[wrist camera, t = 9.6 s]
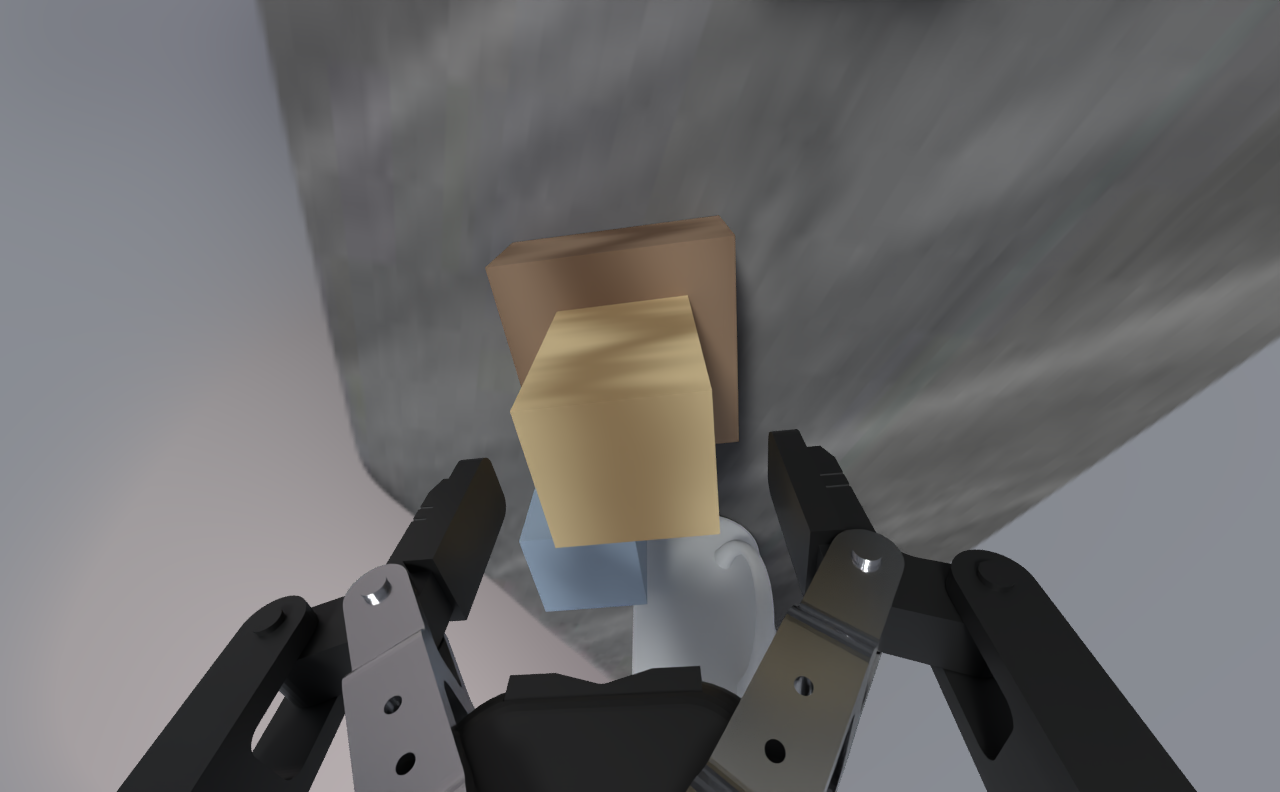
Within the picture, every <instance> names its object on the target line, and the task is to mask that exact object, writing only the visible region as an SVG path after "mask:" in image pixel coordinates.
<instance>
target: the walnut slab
mask: <svg viewBox="0 0 1280 792" xmlns="http://www.w3.org/2000/svg"><path fill="white" fill-rule="evenodd" d="M485 269H486V272H487V275H488V279H489V282H490V285H491V288H492V292H493V295H494V298H495V302H496V305H497V308H498V312H499V315H500V318H501V321H502V325H503V328H504V331H505V335H506V338H507V341H508V345H509V348H510V351H511V354H512V358H513V361H514V364H515V368H516V371H517V374H518V378H519V381H520V384H521V387H522V385H523V383H524V381H525V379H526V377H527V375H528V372H529V370H530V368H531V366H532V364H533V362H534V360H535V357H536V355H537V353H538V351H539V349H540V347H541V344H542V342H543V340H544V338H545V336H546V334H547V332H548V329H549V327H550V325H551V323H552V321H553V319H554V317H555V314H556V312H558V311H566V310H574V309H582V308H590V307H598V306H606V305H614V304H622V303H630V302H638V301H646V300H654V299H662V298H670V297H678V296H686V295H688V298H689V302H690V306H691V310H692V314H693V318H694V322H695V325H696V329H697V333H698V337H699V341H700V345H701V349H702V353H703V357H704V361H705V365H706V369H707V373H708V376H709V380H710V384H711V388H712V400H713V418H714V435H715V444H720V443H730V442H739V422H738V369H737V315H736V261H735V235H734V233H733V232H732V231H731V230H730V229H729V227H728V226H727V225H726V224H725V222H724V221H723V220H722V219H721V218H720V216H719V215H718V216H711V217H703V218H696V219H688V220H681V221H673V222H665V223H658V224H650V225H643V226H635V227H628V228H620V229H613V230H605V231H598V232H590V233H583V234H575V235H567V236H560V237H552V238H545V239H537V240H530V241H522V242H515V243H512V244H511V245H510V246H509V247H507V248H506V249H505V250H504V251H503V252H502V253H501V254H500V255H499V256H497V257H496V258H495V259H494V260H493V261H492V262H491V263H490V264H489V265H487V266H486V267H485Z"/></svg>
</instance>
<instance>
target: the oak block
mask: <svg viewBox="0 0 1280 792" xmlns="http://www.w3.org/2000/svg"><path fill="white" fill-rule="evenodd" d="M510 413H511V416H512V419H513V422H514V425H515V428H516V431H517V434H518V437H519V440H520V443H521V446H522V449H523V452H524V455H525V458H526V461H527V464H528V467H529V470H530V473H531V476H532V479H533V482H534V485H535V488H536V491H537V494H538V497H539V500H540V503H541V506H542V509H543V512H544V515H545V518H546V521H547V524H548V527H549V530H550V533H551V536H552V539H553V542H554V545H555V548H562V547H574V546H586V545H597V544H609V543H621V542H633V541H645V540H656V539H668V538H680V537H692V536H703V535H715V534H720V521H719V504H718V487H717V470H716V452H715V435H714V418H713V400H712V388H711V384H710V380H709V376H708V373H707V369H706V365H705V361H704V357H703V353H702V349H701V345H700V341H699V337H698V333H697V329H696V325H695V322H694V318H693V314H692V310H691V306H690V302H689V298H688V295H686V296H678V297H670V298H662V299H654V300H646V301H638V302H630V303H622V304H614V305H606V306H598V307H590V308H582V309H574V310H566V311H558V312H556V314H555V317H554V319H553V321H552V323H551V325H550V327H549V329H548V332H547V334H546V336H545V338H544V340H543V342H542V344H541V347H540V349H539V351H538V353H537V355H536V357H535V360H534V362H533V364H532V366H531V368H530V370H529V372H528V375H527V377H526V379H525V381H524V383H523V385H522V387H521V390H520V392H519V394H518V396H517V398H516V400H515V402H514V405H513V407H512V409H511V411H510Z"/></svg>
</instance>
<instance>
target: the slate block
mask: <svg viewBox="0 0 1280 792" xmlns="http://www.w3.org/2000/svg"><path fill="white" fill-rule="evenodd" d="M519 542H520V545H521V548H522V550H523V553H524V555H525V558H526V561H527V563H528V566H529V569H530V571H531V574H532V576H533V579H534V582H535V584H536V587H537V589H538V592H539V595H540V597H541V600H542V603H543V605H544V608H545V610H546V612H547V611H561V610H575V609H589V608H603V607H617V606H631V605H645V604H647V540H645V541H633V542H621V543H609V544H597V545H586V546H574V547H562V548H555V545H554V542H553V539H552V536H551V533H550V530H549V527H548V524H547V521H546V518H545V515H544V512H543V509H542V506H541V503H540V500H539V497H538V494H537V491H536V488H535V490H534V494H533V497H532V500H531V504H530V507H529V510H528V514H527V517H526V520H525V524H524V527H523V530H522V534H521V537H520V540H519Z"/></svg>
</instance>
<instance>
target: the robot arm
mask: <svg viewBox="0 0 1280 792" xmlns="http://www.w3.org/2000/svg"><path fill="white" fill-rule="evenodd" d="M768 483H769V489H770V494H771V498H772V501H773V504H774V507H775V510H776V513H777V516H778V520H779V523H780V526H781V529H782V532H783V535H784V538H785V541H786V544H787V548H788V551H789V554H790V557H791V560H792V563H793V566H794V569H795V573H796V576H797V579H798V582H799V585H800V588H801V591H802V594H803V599H802V601H801V603H800V605H799V606H798V607H796V606H792V607H791V608H790V609H789V611H788V612H787V614H786V616H785V617H784V619H783V621H782V623H781V625H780V627H779V629H778V631H777V632H776V634H775V636H774V638H773V640H772V642H771V644H770V646H769V648H768V649H767V651H766V653H765V655H764V657H763V659H762V661H761V663H760V665H759V666H758V668H757V670H756V672H755V674H754V676H753V678H752V680H751V682H750V683H749V685H748V687H747V689H746V691H745V693H744V695H743V697H742V698H740V697H739V696H737V695H736V694H734V693H732V692H730V691H729V690H727V689H725V688H722V687H720V686H717V685H715V684H712V683H708V682H704V681H702V677H701V668H700V666H686V667H666V668H651V669H648V670H645V671H642V672H639V673H636V674H633V675H630V676H627V677H624V678H621V679H618V680H615V681H612V682H609V683H605V684H597V683H593V682H589V681H585V680H581V679H577V678H573V677H569V676H565V675H561V674H556V673H549V674H530V675H511V676H510V678H509V682H508V686H507V690H506V693H503V694H500V695H498V696H496V697H494V698H492V699H490V700H488V701H486V702H485V703H483V704H481V705H480V706H478V707H477V708H476V709H475V708H474V706H473V704H472V702H471V700H470V697H469V695H468V692H467V690H466V687H465V685H464V681H463V679H462V676H461V674H460V671H459V668H458V665H457V662H456V660H455V657H454V654H453V651H452V649H451V646H450V643H449V640H448V638H447V636H446V634H445V630H446V627H447V625H448V623H449V621H461V620H467V617H468V615H469V612H470V609H471V607H472V604H473V601H474V599H475V596H476V593H477V591H478V588H479V585H480V582H481V580H482V577H483V574H484V572H485V569H486V566H487V563H488V561H489V558H490V555H491V553H492V550H493V547H494V545H495V542H496V539H497V536H498V534H499V531H500V528H501V526H502V523H503V520H504V517H505V512H506V502H505V497H504V494H503V491H502V489H501V486H500V484H499V481H498V479H497V476H496V474H495V471H494V468H493V466H492V463H491V461H490V460H489V459H488V458H478V459H467V460H461V461H459V462H458V464H457V465H456V467H455V469H454V470H453V472H452V474H451V476H450V478H449V479H443V480H442V481H441V482H440V483H439V484H438V485H437V486H435V487H434V488H433V489H432V490H431V491H430V492H429V493H428V495H427V497H426V498H425V500H424V502H423V503H422V505H421V509H420V510H418V512H417V513H416V515H415V517H414V518H413V519H414V521H413V522H411V524H410V525H409V527H408V529H407V530H406V532H405V534H404V535H403V537H402V539H401V540H400V542H399V544H398V545H397V547H396V549H395V550H394V552H393V554H392V556H391V557H390V559H389V561H388V562H387V564H386V565H382V566H379V567H377V568H374V569H372V570H371V571H369V572H367V573H366V574H364V575H363V576H362V577H360V578H359V579H358V580H357V581H356V582H355V583H354V584H353V585H352V586H351V587H350V589H349V590H348V591H347V593H346V595H345V596H344V597H341V598H338V599H335V600H332V601H329V602H326V603H323V604H320V605H317V606H315V607H312V608H311V607H310V606H309V604H308V603H307V602H306V601H305V600H304V599H303V598H302V597H300V596H287V597H283V598H280V599H278V600H275V601H273V602H271V603H269V604H267V605H266V606H264V607H262V608H261V609H260V610H258V611H257V612H256V613H254V614H253V615H252V616H251V617H250V618H249V619H248V620H247V621H246V622H245V623H244V624H243V625H242V627H241V628H240V629H239V630H238V632H237V633H236V634H235V636H234V637H233V638H232V640H231V641H230V642H229V644H228V645H227V646H226V648H225V649H224V650H223V652H222V653H221V654H220V655H219V657H218V658H217V659H216V661H215V662H214V664H213V665H212V666H211V667H210V669H209V670H208V671H207V673H206V674H205V675H204V677H203V678H202V679H201V681H200V682H199V683H198V685H197V686H196V687H195V689H194V690H193V691H192V693H191V694H190V695H189V697H188V698H187V699H186V701H185V702H184V703H183V704H182V706H181V707H180V708H179V710H178V711H177V713H176V714H175V715H174V716H173V718H172V719H171V721H170V722H169V723H168V724H167V726H166V727H165V728H164V730H163V731H162V732H161V734H160V735H159V736H158V738H157V739H156V740H155V742H154V743H153V744H152V746H151V747H150V748H149V750H148V751H147V752H146V754H145V755H144V756H143V758H142V759H141V760H140V761H139V763H138V764H137V765H136V767H135V768H134V769H133V771H132V772H131V773H130V775H129V776H128V777H127V779H126V780H125V781H124V783H123V784H122V785H121V787H120V788H119V789H118V791H117V792H309V790H310V787H311V785H312V783H313V781H314V779H315V777H316V775H317V773H318V770H319V768H320V766H321V764H322V762H323V760H324V758H325V755H326V753H327V751H328V749H329V747H330V745H331V742H332V740H333V738H334V736H335V734H336V732H337V730H338V727H339V725H340V723H341V721H342V719H343V717H344V714H345V716H346V724H347V732H348V740H349V748H350V757H351V764H352V773H353V781H354V790H355V792H837V789H838V786H839V783H840V780H841V777H842V774H843V771H844V768H845V765H846V762H847V759H848V756H849V753H850V749H851V746H852V743H853V739H854V736H855V732H856V729H857V726H858V723H859V719H860V717H861V714H862V711H863V708H864V705H865V702H866V699H867V696H868V693H869V690H870V687H871V684H872V681H873V678H874V675H875V672H876V669H877V666H878V663H879V660H880V657H881V654H882V652H883V653H886V654H890V655H894V656H898V657H902V658H906V659H909V660H913V661H917V662H921V663H925V664H929V665H931V668H932V670H933V672H934V674H935V676H936V679H937V681H938V683H939V685H940V688H941V690H942V692H943V694H944V696H945V699H946V701H947V703H948V705H949V708H950V710H951V712H952V714H953V716H954V718H955V721H956V723H957V725H958V728H959V730H960V732H961V734H962V736H963V739H964V741H965V743H966V745H967V747H968V750H969V752H970V754H971V756H972V758H973V761H974V763H975V765H976V767H977V770H978V772H979V774H980V776H981V779H982V781H983V783H984V785H985V787H986V790H987V792H1197V791H1196V790H1195V789H1194V787H1193V786H1192V785H1191V783H1190V782H1189V781H1188V779H1187V778H1186V777H1185V775H1184V774H1183V773H1182V772H1181V770H1180V769H1179V768H1178V766H1177V765H1176V764H1175V762H1174V761H1173V760H1172V758H1171V757H1170V756H1169V755H1168V753H1167V752H1166V751H1165V749H1164V748H1163V747H1162V745H1161V744H1160V743H1159V741H1158V740H1157V739H1156V737H1155V736H1154V735H1153V733H1152V732H1151V731H1150V729H1149V728H1148V727H1147V725H1146V724H1145V723H1144V722H1143V720H1142V719H1141V718H1140V716H1139V715H1138V714H1137V712H1136V711H1135V710H1134V708H1133V707H1132V706H1131V704H1130V703H1129V702H1128V701H1127V699H1126V698H1125V697H1124V695H1123V694H1122V693H1121V691H1120V690H1119V689H1118V688H1117V686H1116V685H1115V683H1114V682H1113V681H1112V680H1111V678H1110V677H1109V676H1108V674H1107V673H1106V672H1105V670H1104V669H1103V668H1102V666H1101V665H1100V664H1099V662H1098V661H1097V660H1096V658H1095V657H1094V656H1093V655H1092V653H1091V652H1090V651H1089V649H1088V648H1087V647H1086V645H1085V644H1084V643H1083V641H1082V640H1081V639H1080V638H1079V636H1078V635H1077V633H1076V632H1075V631H1074V630H1073V628H1072V627H1071V626H1070V624H1069V623H1068V622H1067V621H1066V619H1065V618H1064V616H1063V615H1062V614H1061V612H1060V611H1059V610H1058V609H1057V607H1056V606H1055V605H1054V603H1053V602H1052V601H1051V599H1050V598H1049V597H1048V595H1047V594H1046V593H1045V591H1044V590H1043V589H1042V588H1041V586H1040V585H1039V584H1038V582H1037V581H1036V580H1035V578H1034V577H1033V576H1032V575H1031V574H1030V573H1029V572H1028V571H1027V570H1026V569H1025V568H1024V567H1022V566H1021V565H1019V564H1018V563H1016V562H1015V561H1013V560H1011V559H1009V558H1007V557H1005V556H1003V555H1000V554H997V553H994V552H990V551H985V550H967V551H964V552H961V553H959V554H958V555H957V556H955V558H954V559H953V561H952V564H949V563H943V562H938V561H933V560H927V559H922V558H917V557H913V556H910V555H907V554H904V553H902V552H901V551H900V550H899V549H898V547H897V546H896V545H895V544H894V543H893V542H892V541H890V540H889V539H888V538H886V537H884V536H882V535H880V534H878V533H876V531H875V530H874V528H873V526H872V524H871V523H870V521H869V519H868V517H867V515H866V513H865V512H864V510H863V508H862V506H861V504H860V502H859V501H858V499H857V497H856V495H855V493H854V492H853V490H852V488H851V486H849V482H848V481H847V479H846V477H845V475H844V474H843V471H842V470H841V468H840V466H839V464H838V462H837V460H836V459H835V457H834V456H832V455H831V454H830V453H829V452H827V451H826V450H825V449H824V448H822V447H821V446H812V447H807V446H806V444H805V442H804V440H803V438H802V436H801V434H800V432H799V430H797V429H794V430H783V431H772V432H769V438H768ZM278 691H280V692H281V693H282V694H283V695H284V696H285V697H284V699H283V701H282V702H281V704H280V706H279V708H278V709H277V711H276V713H275V715H274V716H273V718H272V720H271V721H270V723H269V725H268V726H267V728H266V730H265V731H264V733H263V735H262V737H261V738H260V740H259V742H258V743H257V745H256V747H255V749H254V750H253V752H252V751H251V742H252V737H253V734H254V732H255V729H256V728H257V726H258V724H259V722H260V721H261V719H262V718H263V716H264V714H265V712H266V711H267V709H268V707H269V706H270V704H271V702H272V701H273V699H274V697H275V696H276V694H277V693H278Z"/></svg>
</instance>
